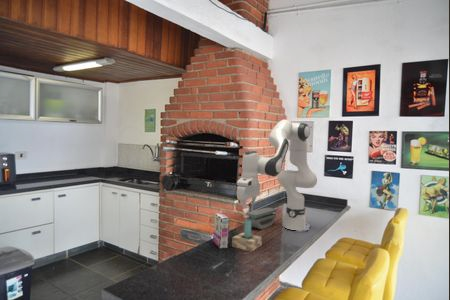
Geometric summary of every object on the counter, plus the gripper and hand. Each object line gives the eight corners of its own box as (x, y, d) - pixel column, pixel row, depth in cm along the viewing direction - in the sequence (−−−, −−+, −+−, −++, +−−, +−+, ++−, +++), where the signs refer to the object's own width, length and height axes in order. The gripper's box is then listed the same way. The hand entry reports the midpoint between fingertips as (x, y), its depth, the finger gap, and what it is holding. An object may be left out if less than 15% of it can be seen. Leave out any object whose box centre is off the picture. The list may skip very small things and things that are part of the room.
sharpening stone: (267, 222, 213) (267, 207, 212) (276, 224, 207) (277, 209, 207) (245, 229, 194) (246, 212, 194) (255, 232, 189) (256, 215, 188)
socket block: (242, 240, 171) (243, 232, 171) (261, 245, 165) (261, 236, 165) (231, 246, 161) (232, 237, 161) (251, 251, 155) (251, 242, 155)
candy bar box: (228, 248, 159) (229, 217, 158) (219, 249, 157) (220, 218, 156) (221, 241, 169) (222, 212, 168) (212, 242, 167) (214, 213, 167)
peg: (245, 244, 166) (246, 219, 165) (251, 245, 164) (252, 220, 163) (242, 246, 163) (243, 220, 162) (248, 247, 161) (249, 222, 160)
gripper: (253, 178, 172) (252, 201, 173) (235, 182, 155) (234, 208, 156) (263, 179, 169) (262, 203, 169) (245, 183, 152) (244, 210, 152)
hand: (248, 205), depth 162 cm, fingers open, 8 cm apart
